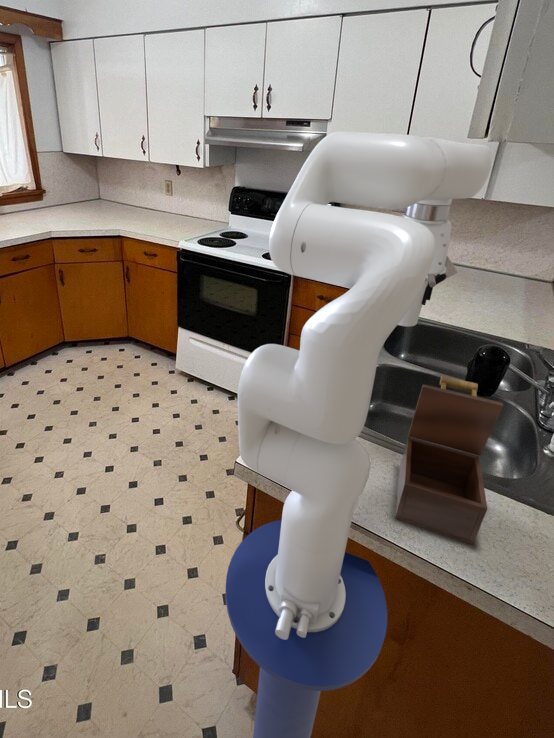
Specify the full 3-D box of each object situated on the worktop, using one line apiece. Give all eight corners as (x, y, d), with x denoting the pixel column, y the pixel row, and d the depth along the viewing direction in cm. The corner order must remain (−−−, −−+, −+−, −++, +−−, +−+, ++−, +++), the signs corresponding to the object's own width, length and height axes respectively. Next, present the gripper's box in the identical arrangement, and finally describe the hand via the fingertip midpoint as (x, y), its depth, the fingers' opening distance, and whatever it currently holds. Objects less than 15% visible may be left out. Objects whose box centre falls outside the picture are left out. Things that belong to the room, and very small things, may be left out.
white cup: (422, 318, 90) (432, 274, 86) (415, 330, 85) (426, 284, 81) (390, 310, 93) (398, 267, 89) (382, 321, 88) (391, 276, 84)
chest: (472, 545, 72) (487, 509, 69) (395, 518, 77) (404, 483, 73) (467, 490, 83) (479, 456, 79) (399, 469, 87) (407, 436, 84)
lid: (503, 405, 71) (500, 381, 76) (422, 386, 76) (424, 365, 80) (480, 456, 79) (478, 431, 83) (408, 436, 83) (410, 413, 88)
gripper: (377, 210, 79) (361, 298, 87) (480, 221, 74) (454, 315, 81) (380, 203, 86) (365, 286, 93) (475, 213, 80) (451, 300, 88)
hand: (407, 299), depth 87 cm, fingers closed on white cup, 5 cm apart
